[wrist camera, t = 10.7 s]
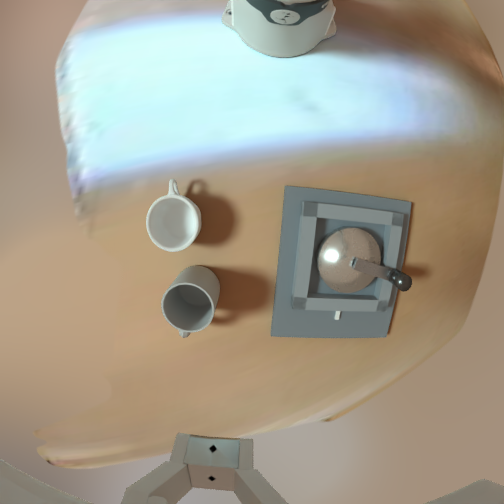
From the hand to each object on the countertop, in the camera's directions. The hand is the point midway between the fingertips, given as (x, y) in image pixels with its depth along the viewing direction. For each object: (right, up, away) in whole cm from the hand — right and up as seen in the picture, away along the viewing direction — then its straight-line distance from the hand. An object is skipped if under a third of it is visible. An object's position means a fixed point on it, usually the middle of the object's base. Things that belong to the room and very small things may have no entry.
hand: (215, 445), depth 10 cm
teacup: (-10, +14, +35) cm, 39 cm away
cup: (-8, +1, +38) cm, 38 cm away
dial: (+18, +6, +35) cm, 40 cm away
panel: (+16, +5, +36) cm, 40 cm away
